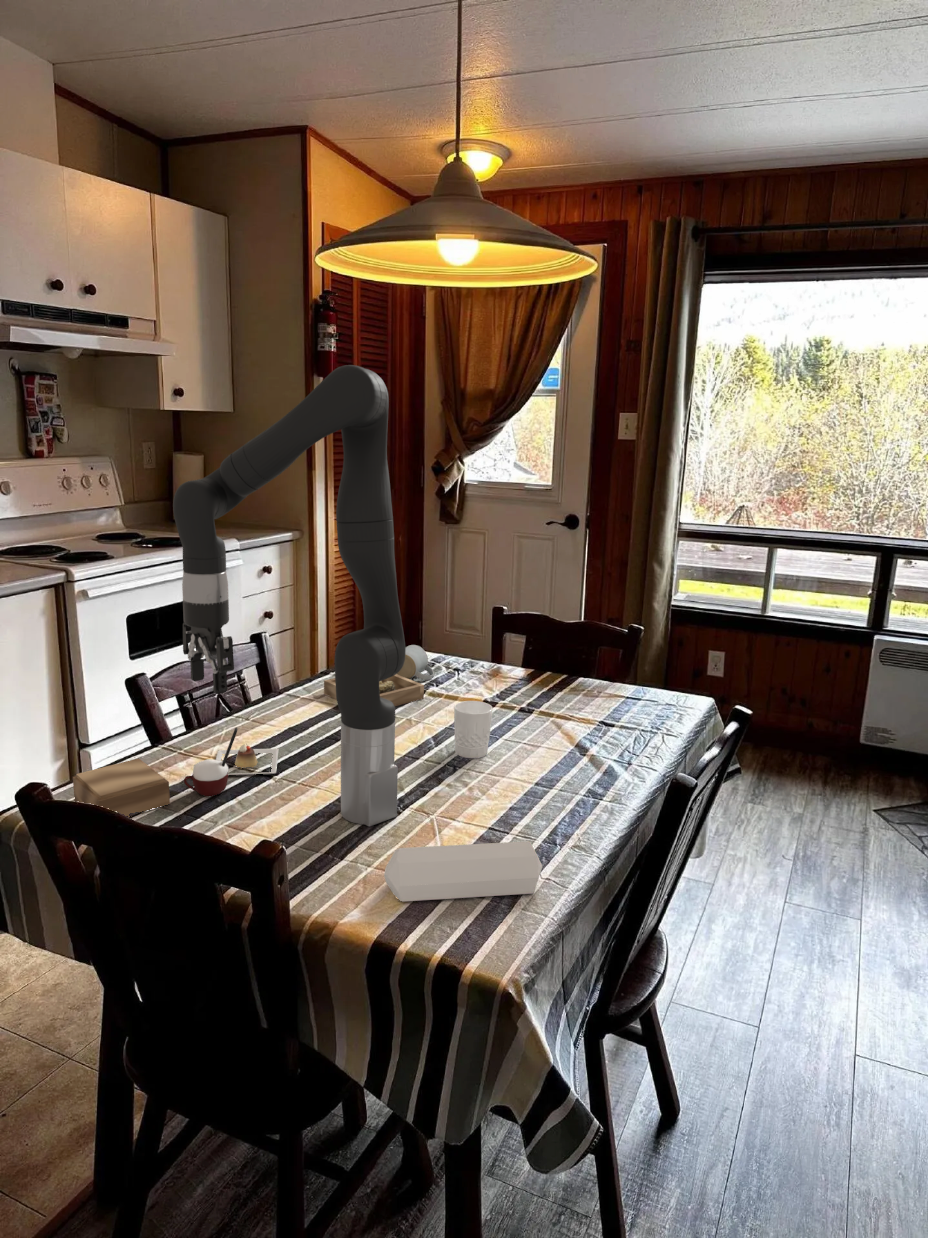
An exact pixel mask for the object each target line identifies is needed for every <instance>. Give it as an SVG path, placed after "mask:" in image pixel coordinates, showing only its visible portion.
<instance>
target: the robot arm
mask: <svg viewBox="0 0 928 1238" xmlns="http://www.w3.org/2000/svg"><path fill="white" fill-rule="evenodd" d="M389 400H390V399H389V391H388V388H387V386H386V384H385V382H384V380H383V379H382V377H380V376H379V375H378V374H377V373H376V372H375V371H373V370H370V369H369V368H364V367H362V366H359V365H353V364H348V365H347V364H346V365H342V366H339V367H336V368H335V369H333V370H332V371H331V372H330V373H329V374H328V375H327V376H325V378H324V379H322V381H320V382H319V384H317V385H316V387H315V388H313V390H312V391H310V393H309V394H308V395H306V397H304V399H303V400H301V401H300V402H299V403H298V404H297V405H295V406H294V408H292V409H291V410H290V411H289V412H288V413H286V414H285V415H284V416H283V417H282V418H281V419H279V420H278V421H276V422H274V424H272V425H271V426H270V427H268V428H267V429H265V430H263V431H262V432H261V433H260V434H258V435H256V436H255V437H253V438H252V439H250V440H249V441H247V442H246V443H244V444H243V445H242V446H240V447H239V448H238V449H235V451H234V452H232V453H230V454H228V456H227V457H226V458H224V459H223V461H221V463H220V466H219V467H218V468H217V469H215V470H214V471H213V472H211V473H210V474H208V475H206V476H205V477H203V478H199V479H194V480H193V479H192V480H189V481H185V482H183V483H181V484H180V485H179V486H178V487H177V489H176V491H175V493H174V496H173V501H172V502H173V503H172V507H173V509H172V510H173V516H174V517H173V518H174V522H175V525H176V529H177V532H178V537H179V540H180V543H181V546H182V573H183V574H182V583H181V587H182V588H181V589H182V591H181V592H182V612H183V614H182V615H183V623H182V651H183V652H182V653H183V654H184V655H187V659H188V661H189V664H190V665H189V667H190V680H191V681H193V682H199V681H203V680H204V679H205V664H204V663H205V661H206V662H207V663H209V664H210V667H211V670H212V672H213V673H212V682H213V683H212V687H213V688H212V689H213V693H214V694H216V695H220V694H225V693H226V692H228V676H227V675H228V672H230V671H231V672H232V671H234V669H235V661H234V659H235V658H234V643H233V641H234V640H233V637H232V636H224V635H223V631H222V630H223V629H222V628H223V627H224V626H225V625H228V623H229V621H230V608H229V607H230V606H229V605H230V604H229V601H230V599H229V581H228V575H227V552H226V544H225V541H224V539H223V538H221V537H220V536H218V535H217V530H216V525H215V520H217V519H219V518H221V517H223V516H225V515H227V513H229V512H231V511H232V510H233V509H234V508H236V507H237V506H238V505H239V504H240V503H241V502H242V501H243V500H244V499H246V498H247V497H248V496H249V495H251V494H253V493H254V492H256V491H258V490H259V489H261V488H262V487H264V486H265V485H267V484H269V482H271V481H272V480H274V479H275V478H277V477H278V476H280V475H281V474H282V473H283V472H285V471H286V470H287V469H288V468H289V467H291V465H293V463H295V461H296V460H298V458H299V457H300V456H301V455H302V454H303V453H304V452H306V451H307V450H308V449H309V448H310V447H312V446H313V445H315V444H316V443H318V442H319V441H321V440H322V439H324V438H325V437H328V436H330V435H331V434H334V433H336V432H338V431H341V439H342V448H343V449H342V450H343V464H342V470H341V476H340V477H341V478H340V482H339V487H338V493H337V498H336V510H335V511H336V512H335V513H336V515H335V517H336V519H335V520H336V533H337V546H338V552H339V555H340V557H341V560H342V562H343V563H344V566H345V567H346V570H347V571H348V573H349V574H350V576H351V577H352V579H353V582H354V583H355V585H356V586H357V588H358V592H359V594H360V597H361V601H362V608H363V629H358V630H355V631H351V632H350V633H347V634H345V635H343V636H342V637H341V638H340V639H339V641H338V642H337V645H336V647H335V653H334V678H335V683H336V699H337V700H336V699H335V700H336V703H337V707H338V709H339V711H340V712H339V713H340V815H341V817H343V819H344V820H346V821H348V822H351V823H354V824H360V825H365V826H367V827H372V826H374V825H377V824H380V823H383V822H385V821H387V820H391V819H393V818H396V817H397V816H398V779H399V778H398V777H399V776H398V772H399V771H398V770H399V768H398V765H396V764H395V755H396V754H395V752H396V751H395V750H396V747H395V746H396V744H395V741H396V738H395V737H396V706H394V704H393V703H392V702H391V701H389V700H387V699H384V698H381V697H380V689H379V681H382V680H385V679H387V678H390V677H392V676H394V675H396V674H397V673H398V672H399V671H400V670H401V669H402V667H403V665H404V662H405V654H406V649H405V648H406V641H405V634H404V627H403V622H402V621H403V620H402V615H401V609H400V603H399V596H398V585H397V584H398V583H397V582H398V581H397V572H396V559H395V557H396V556H395V532H394V530H395V529H394V516H393V514H394V513H393V505H392V493H391V483H390V473H389V472H390V471H389V464H388V425H389V424H388V423H389V422H388V421H389V405H390V404H389V402H390V401H389ZM204 657H205V661H204V659H203V658H204Z"/></svg>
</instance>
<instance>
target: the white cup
mask: <svg viewBox="0 0 928 1238" xmlns="http://www.w3.org/2000/svg"><path fill="white" fill-rule="evenodd" d="M492 715H493V706H492V705H491V704H489V703H486V702H484V701H479V700H465V701H459V702H457V703H456V704H454V706H453V719H454V721H453V723H454V724H453V725H454V726H453V727H454V741H455V745H454V747H455V748H454V750H455V754H456V755H457V756H460V757H462V758H466V759H479V758H480V759H481V758H484V757H485V756H487V754H488V748H489V742H490V737H491V736H490V735H491V725H492V717H493V716H492Z"/></svg>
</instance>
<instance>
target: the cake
mask: <svg viewBox="0 0 928 1238" xmlns="http://www.w3.org/2000/svg"><path fill="white" fill-rule="evenodd" d="M379 689H380V694H382V693H386V692H390V691H394V690H396V689H395V686H394V683H393V682H392V681H387V682H384V683H382V681H379Z"/></svg>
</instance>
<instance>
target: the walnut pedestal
mask: <svg viewBox="0 0 928 1238" xmlns="http://www.w3.org/2000/svg"><path fill="white" fill-rule="evenodd" d="M72 784H73V798H74V797H75V799H74V801H75V802H76V801H79V802H84V803H91V804H94V805H98V806H103V807H104V808H109V809H110V810H113V811H117V812H119V813H121V814H124V815H125V816H128V818H130V816H129V814H130V813H135V812H142V811H146V810H150V809H152V808H157V807H160V806H164V805H168V804H170V805H171V798H170V781H169V780H167V779H166V778H165V777H163V776H162V775H161V774H160V773H158V772H157V771H156V770H154V769H153V768H152V767H151V766H150V765H148V764H147V763H146V762H144V761H143V760H142V759H140V758H134V759H129V760H125V761H122V762H119V763H115V764H110V765H107V766H106V765H105V766H103V767H99V768H96V769H90V770H87V771H83V772H78V773H76V775H75V776H72ZM168 806H169V805H168ZM164 807H165V806H164Z"/></svg>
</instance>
